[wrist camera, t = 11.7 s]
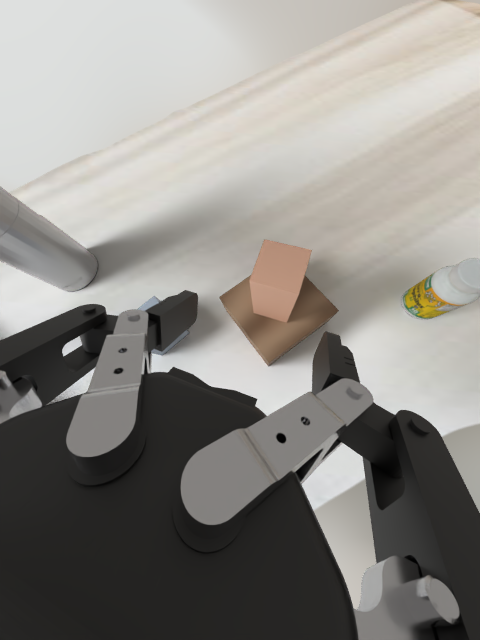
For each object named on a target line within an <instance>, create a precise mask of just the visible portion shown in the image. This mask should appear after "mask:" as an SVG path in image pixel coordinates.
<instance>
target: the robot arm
mask: <svg viewBox="0 0 480 640" xmlns="http://www.w3.org/2000/svg"><path fill="white" fill-rule="evenodd" d="M0 261H1V262H3V263H5V264H7V265H10V266H12V267H14V268H16V269H18V270H21V271H23V272H25V273H27V274H29V275H32V276H34V277H36V278H38V279H40V280H42V281H45V282H47V283H49V284H51V285H53V286H56V287H58V288H60V289H62V290H65V291H77V290H79V289H82V288H83V287H85V286H86V285H88V284H89V283H90V282H91V281H92V279H93V278H94V276H95V274H96V272H97V268H98V263H97V260H96V258H95V256H93V255H92V254H91V253H90V252H88V251H87V249H86V248H85V247H83V246H82V245H81V244H79V243H78V242H77V241H75V240H74V239H73V238H71V237H70V236H68V235H67V234H66V233H64V232H63V231H62V230H60V229H59V228H58V227H56V226H55V225H54V224H52V223H51V222H50V221H48V220H47V219H46V218H44V217H43V216H41V215H38V214H37V213H36V212H34V211H33V210H31V209H30V208H29V207H27V206H26V205H25V204H23V203H22V202H21V201H19V200H18V199H17V198H15V197H14V196H12V195H11V194H10V193H8V192H7V191H6V190H4V189H3V188H1V187H0ZM197 305H198V295H197V293H194V292H190V291H187V290H185V291H183V292H181V293H180V294H178V295H175V296H171V297H168V298H166V299H164V300H163V301H161V302H159V303H158V304H156V305H154V306H152V307H150V308H149V309H147V310H145V311H143V310H128V311H125V312H122V313H121V314H120V315H119V316H114V315H107V314H106V309H105V307H104V306H102V305H98V304H88V305H83V306H79V307H77V308H75V309H72V310H70V311H68V312H65V313H63V314H61V315H58V316H56V317H54V318H51V319H49V320H47V321H45V322H42V323H40V324H38V325H35V326H33V327H31V328H28V329H26V330H24V331H21V332H19V333H17V334H15V335H12V336H10V337H8V338H5V339H3V340H1V341H0V640H480V513H479V511H478V509H477V507H476V505H475V503H474V501H473V499H472V497H471V495H470V494H469V491H468V489H467V487H466V485H465V484H464V481H463V479H462V477H461V475H460V473H459V471H458V469H457V467H456V465H455V463H454V461H453V459H452V457H451V455H450V453H449V451H448V449H447V447H446V445H445V444H444V441H443V439H442V437H441V435H440V434H439V432H438V431H437V429H436V428H435V427H434V426H433V425H432V424H431V423H430V422H428V421H427V420H426V419H424V418H423V417H421V416H420V415H418V414H416V413H414V412H411V411H407V410H400V411H398V412H397V414H396V415H394V414H392V413H390V412H388V411H387V410H385V409H383V408H381V407H380V406H378V405H376V404H375V403H374V402H373V396H372V394H371V393H370V391H369V390H368V389H367V388H366V387H365V386H363V385H362V384H360V381H359V377H358V373H357V369H356V367H355V366H356V365H355V361H354V358H353V354H352V352H351V351H350V350H349V349H348V347H346V346H343V345H341V339H340V336H339V335H336V334H333V333H329V332H325V333H324V334H323V337H322V339H321V341H320V343H319V346H318V348H317V350H316V352H315V355H314V359H313V373H312V392H308V393H306V394H304V395H302V396H301V397H299V398H297V399H296V400H294V401H292V402H291V403H289V404H287V405H285V406H284V407H282V408H280V409H279V410H277V411H275V412H274V413H272V414H270V415H268V416H266V415H265V414H264V413H263V412H262V411H261V410H260V409H258V408H257V407H256V406H255V405H256V401H257V399H256V398H253V397H251V396H248V395H245V394H243V393H240V392H237V391H234V390H228V389H222V388H215V387H211V386H209V385H207V384H206V383H204V382H203V381H202V380H200V379H199V378H197V377H196V376H194V375H193V374H190V373H188V372H185V371H183V370H180V369H177V368H175V367H173V368H172V369H171V370H170V371H169V372H168V373H166V372H154V373H151V363H152V352H151V351H152V350H153V349H155V350H158V351H161V352H163V351H164V350H165V349H166V348H167V347H168V346H169V345H170V344H171V343H173V342H174V341H175V340H176V339H177V338H178V337H179V336H180V335H181V334H183V333H184V332H185V331H186V330H187V329H188V328H189V327H190V326H191V325H192V324H194V322H195V320H196V317H197ZM78 336H80V338H81V342H82V346H80V347H79V348H77V349H75V350H74V351H72V352H71V353H69V354H67V355H66V356H64V357H63V354H62V349H63V347H64V345H65V344H66V343H68V342H70V341H71V340H73V339H75V338H77V337H78ZM95 367H96V368H95ZM94 368H95V371H94V374H93V377H92V380H91V383H90V386H89V388H88V391H87V392H86V393H84V394H81V395H77V396H74V397H71V398H68V399H65V400H62V401H59V402H55V403H52V404H49V405H46V404H48V403H49V402H50V401H52V400H53V399H54V398H55V397H57V396H58V395H59V394H61V393H62V392H63V391H65V390H66V389H67V388H69V387H70V386H71V385H73V384H74V383H75V382H76V381H78V380H79V379H80V378H82V377H83V376H84V375H86V374H87V373H88V372H90V371H91V370H92V369H94ZM45 405H46V406H45ZM342 443H344V444H345V445H347V446H348V447H350V448H351V449H352V450H354V451H355V452H357V453H358V454H360V455H361V456H362V457H363V463H364V471H365V478H366V486H367V493H368V500H369V509H370V516H371V524H372V531H373V538H374V547H375V554H376V562H377V564H375V565H373V566H371V567H369V568H368V569H367V570H366V571H365V573H364V575H363V577H362V586H361V587H362V588H361V600H360V604H359V607H358V609H357V610H356V609H354V608H353V605H352V601H351V598H350V595H349V591H348V588H347V585H346V583H345V580H344V577H343V575H342V573H341V570H340V568H339V566H338V564H337V562H336V559H335V557H334V555H333V553H332V551H331V549H330V546H329V544H328V542H327V540H326V538H325V535H324V533H323V531H322V529H321V527H320V525H319V522H318V520H317V518H316V516H315V513H314V511H313V509H312V507H311V505H310V503H309V500H308V498H307V496H306V494H305V492H304V489H303V487H302V485H301V484H302V483H303V482H304V481H305V480H306V479H307V478H308V477H309V476H310V475H311V474H312V472H313V471H314V470H315V469H316V468H317V467H318V466H319V465H320V464H321V463H322V462H323V461H324V460H325V459H326V458H327V457H328V456H329V455H330V454H331V453H333V452H334V451H335V450H336V449H337V448H338V447H339V446H340V445H341V444H342Z"/></svg>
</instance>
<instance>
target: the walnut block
mask: <svg viewBox="0 0 480 640" xmlns="http://www.w3.org/2000/svg"><path fill="white" fill-rule="evenodd" d="M250 277H251V275H250V276H249V277H248V278H246V279H245V280H243V281H242V282H240V283H239V284H238V285H236V286H235V287H233V288H232V289H230V290H229V291H228V292H226V293H225V294H223V295H222V296H220V297H219V298H220V299H221V301H222V303H223V305H224V307H225V309H226V310H227V312H228V313H229V315H230V316H231V317H232V319H233V320H234V321H235V323H236V324H237V325H238V327H239V328H240V329H241V331H242V332H243V333H244V335H245V336H246V337H247V339H248V340H249V341H250V343H251V344H252V345H253V347H254V348H255V349H256V351H257V352H258V353H259V355H260V356H261V357H262V359H263V360H264V361H265V363H266V364H267V365H268V366H269V365H271V364H272V363H273V362H275V361H276V360H277V359H279V358H280V357H281V356H283V355H284V354H285V353H287V352H288V351H289V350H291V349H292V348H293V347H295V346H296V345H297V344H299V343H300V342H301V341H303V340H304V339H305V338H306V337H308V336H309V335H310V334H312V333H313V332H314V331H316V330H317V329H318V328H320V327H321V326H322V325H324V324H325V323H326V322H328V321H329V320H330V319H331V318H332V317H333V316H334V315H335V314H336V313H337V312H338V311H339V310H338V309H337V308H336V307H335V306H334V305H333V304H332V303H331V302H330V301H329V300H328V299H327V298H326V297H325V296H324V295H323V294H322V293H321V292H320V291H319V290H318V289H317V288H316V287H315V286H314V284H313V283H312V282H311V281H310V280H309V279H308V278H307V277H306V276H305V275H304V279H303V282H302V286H301V289H300V292H299V295H298V298H297V300H296V302H295V305H294V307H293V309H292V311H291V314H290V316H289V318H288V321H287V323H286V322H282V321H279V320H275V319H272V318H269V317H265V316H262V315H259V314H255V313H254V312H253V305H252V297H251V290H250V282H249V280H250Z"/></svg>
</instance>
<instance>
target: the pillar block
mask: <svg viewBox="0 0 480 640" xmlns="http://www.w3.org/2000/svg"><path fill="white" fill-rule="evenodd" d="M311 252H312V250H309V249H305V248H300V247H296V246H291V245H287V244H282V243H278V242H273V241H269V240H264V242H263V244H262V247H261V250H260V253H259V255H258V258H257V261H256V264H255V266H254V269H253V272H252V275H251V277H250V280H249V282H250V290H251V297H252V305H253V312H254V313H255V314H259V315H262V316H265V317H269V318H272V319H275V320H279V321H282V322H286V323H287V321H288V318H289V316H290V314H291V311H292V309H293V307H294V305H295V302H296V300H297V298H298V295H299V292H300V289H301V286H302V282H303V279H304V275H305V272H306V269H307V265H308V262H309V258H310V255H311Z"/></svg>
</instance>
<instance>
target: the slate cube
mask: <svg viewBox="0 0 480 640" xmlns="http://www.w3.org/2000/svg"><path fill="white" fill-rule="evenodd" d="M159 302H161V301H160V300H159V299H157V298H156V297H155V296H153V297H152V298H151V299H150V300H148V301H147V302H146V303H144V304H143V305H142V306H141V307H139V308H138V309H137V310H143V311H145V310H147V309H149V308H150V307H152V306H154V305H156V304H158V303H159ZM187 334H189V331H188V330H186V331H185V332H184V333H183V334H181V335H180V336H179V337H178V338H177V339H176V340H175V341H174V342H173V343H171V344H170V345H169V346H168V347H167V348H166V349H165V350H164V351H163V352H161V351H158V350H155V349H153V350H152V351H151V352H152V353H154V354H158V355H163V354H165V353H166V352H167V351H168V350H169V349H171V348H172V347H173V346H174V345H175V344H177V343H178V342H179V341H180V340H181V339H183V338H184V337H185V336H186V335H187Z"/></svg>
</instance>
